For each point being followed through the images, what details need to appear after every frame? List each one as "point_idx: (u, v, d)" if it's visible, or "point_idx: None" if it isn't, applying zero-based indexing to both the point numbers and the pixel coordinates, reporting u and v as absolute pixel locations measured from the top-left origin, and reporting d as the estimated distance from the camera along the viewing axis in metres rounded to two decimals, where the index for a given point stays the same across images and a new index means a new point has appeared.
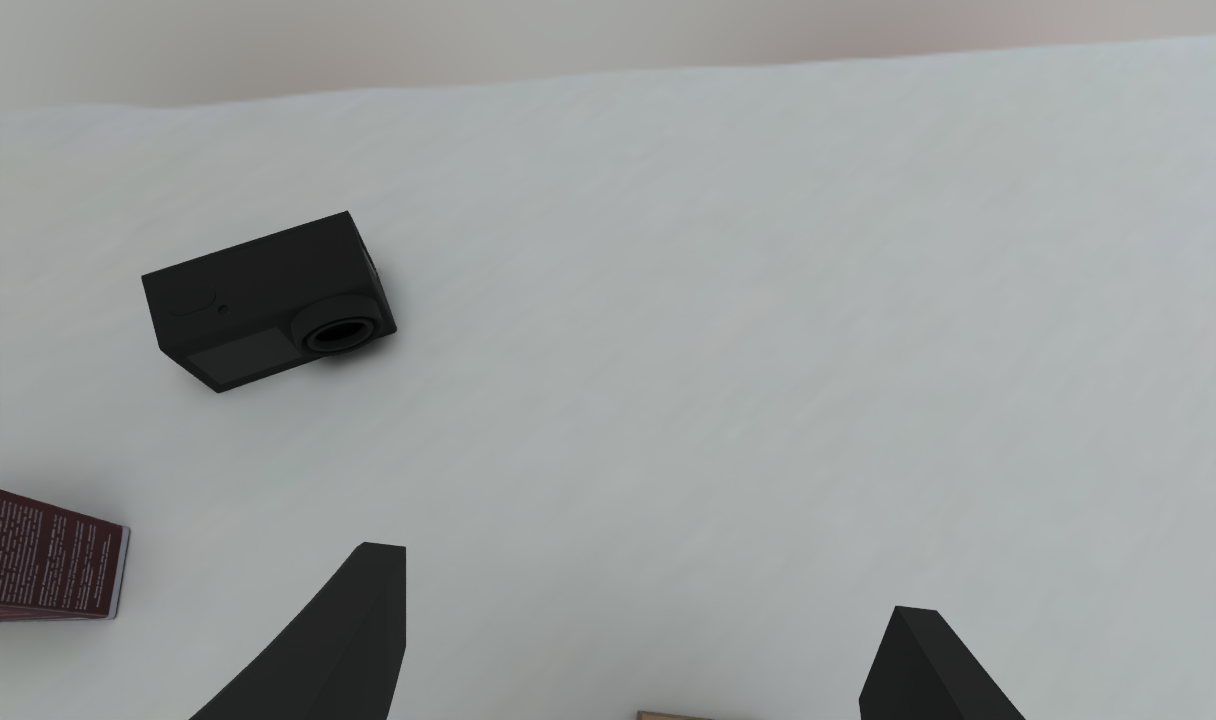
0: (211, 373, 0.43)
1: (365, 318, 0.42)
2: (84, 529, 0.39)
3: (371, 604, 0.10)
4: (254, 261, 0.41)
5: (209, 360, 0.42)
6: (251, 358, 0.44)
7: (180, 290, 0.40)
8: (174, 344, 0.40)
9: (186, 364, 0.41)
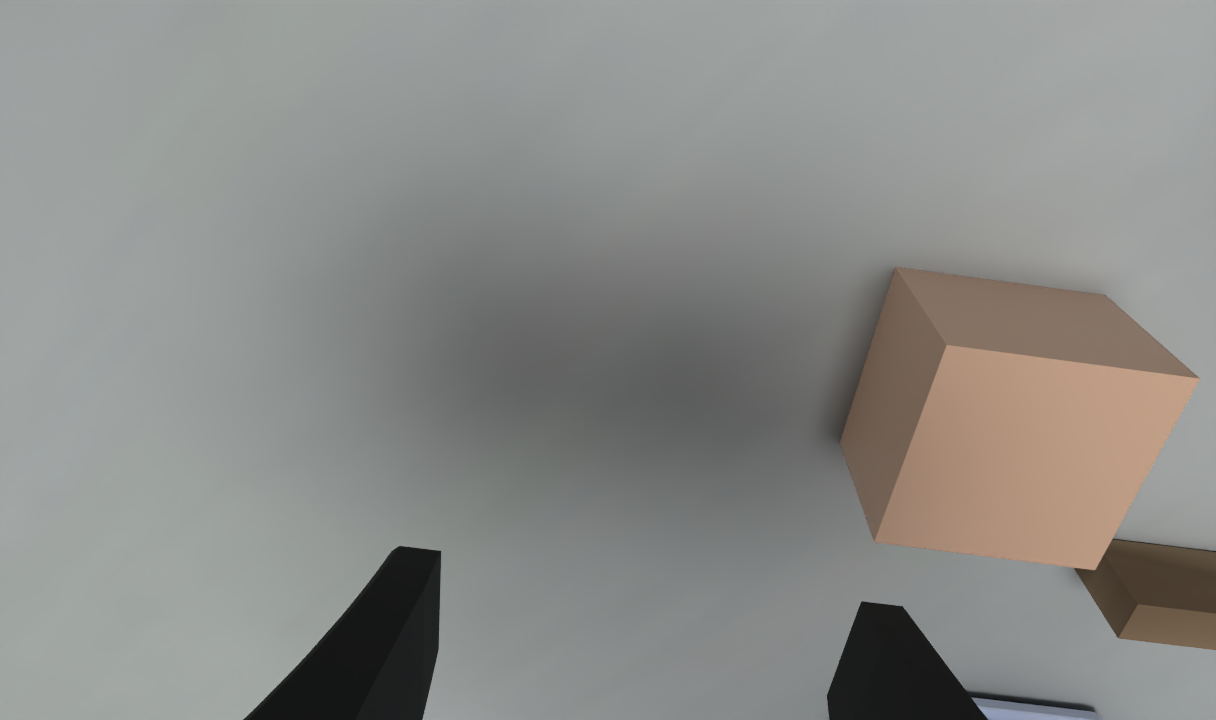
0: None
1: None
2: None
3: (411, 608, 0.10)
4: None
5: None
6: None
7: None
8: None
9: None
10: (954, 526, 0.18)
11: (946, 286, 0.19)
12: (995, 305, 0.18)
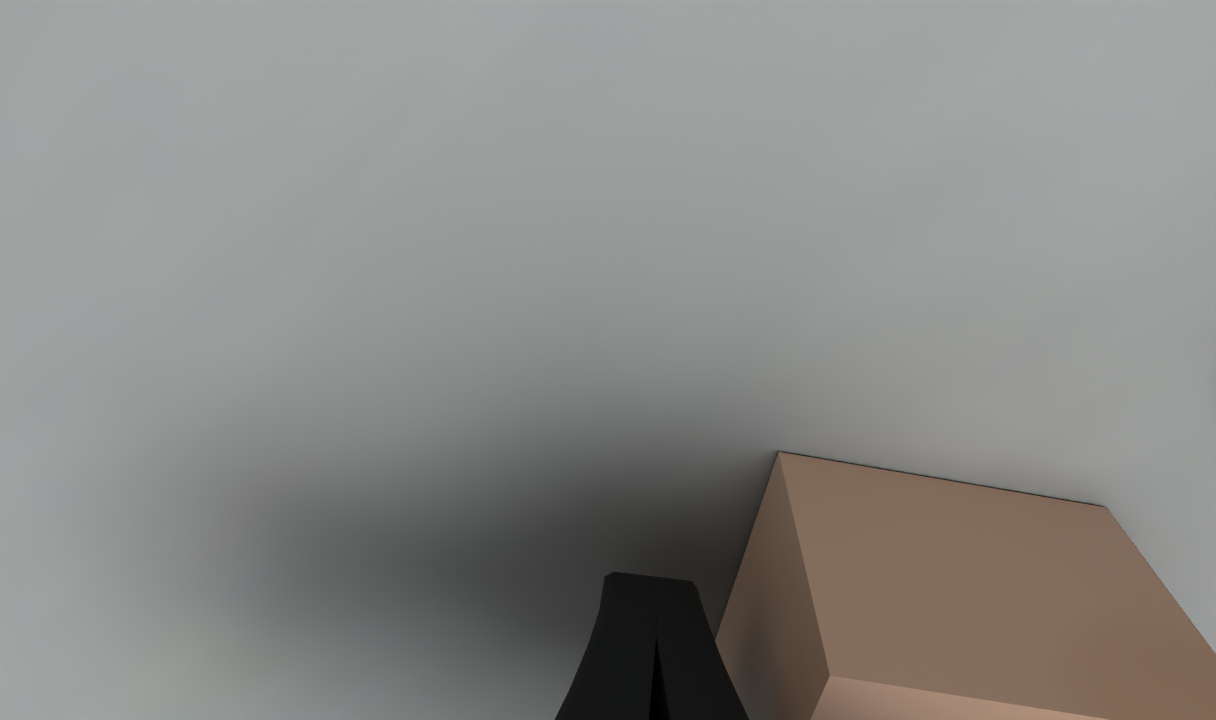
0: None
1: None
2: None
3: (654, 637, 0.10)
4: None
5: None
6: None
7: None
8: None
9: None
10: None
11: (856, 503, 0.11)
12: (932, 550, 0.11)
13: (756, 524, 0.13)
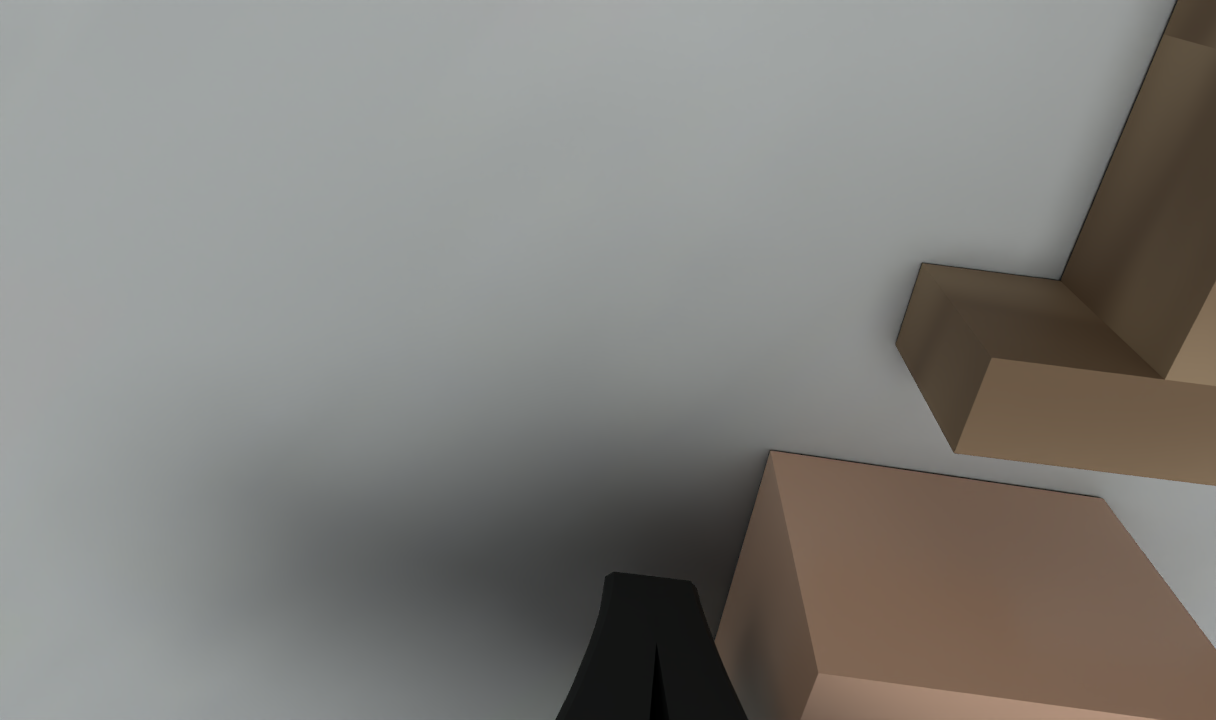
0: None
1: None
2: None
3: (655, 638, 0.10)
4: None
5: None
6: None
7: None
8: None
9: None
10: None
11: (848, 500, 0.11)
12: (925, 545, 0.11)
13: (751, 523, 0.13)
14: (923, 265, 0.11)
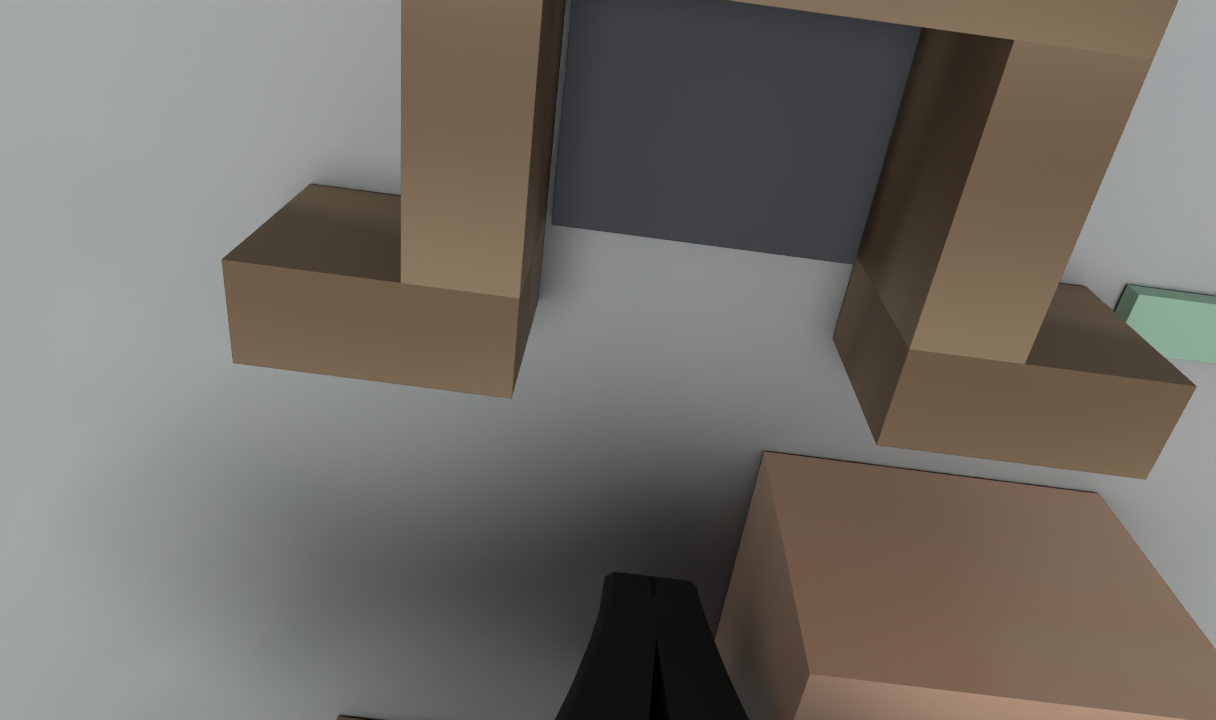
0: None
1: None
2: None
3: (654, 637, 0.10)
4: None
5: None
6: None
7: None
8: None
9: None
10: None
11: (841, 500, 0.11)
12: (919, 544, 0.11)
13: (746, 524, 0.13)
14: (312, 186, 0.11)
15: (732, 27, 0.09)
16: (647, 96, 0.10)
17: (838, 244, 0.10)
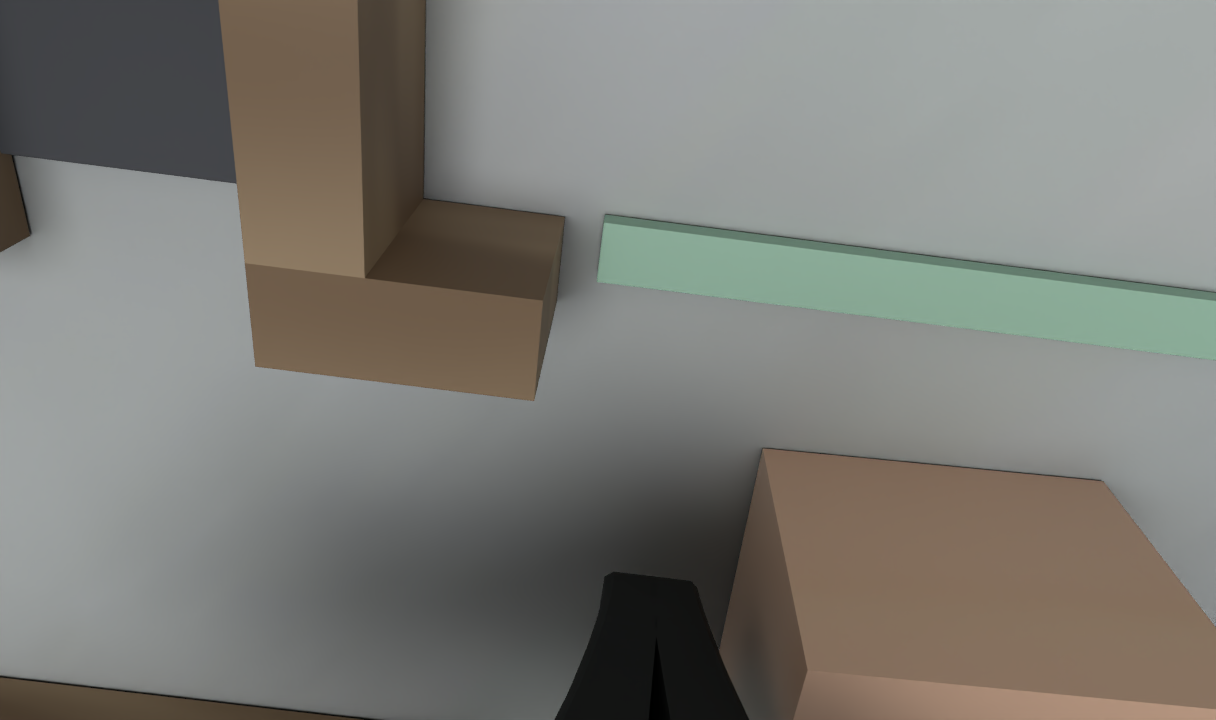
0: None
1: None
2: None
3: (654, 638, 0.10)
4: None
5: None
6: None
7: None
8: None
9: None
10: None
11: (840, 495, 0.11)
12: (918, 537, 0.11)
13: (748, 522, 0.13)
14: None
15: None
16: (51, 16, 0.09)
17: None
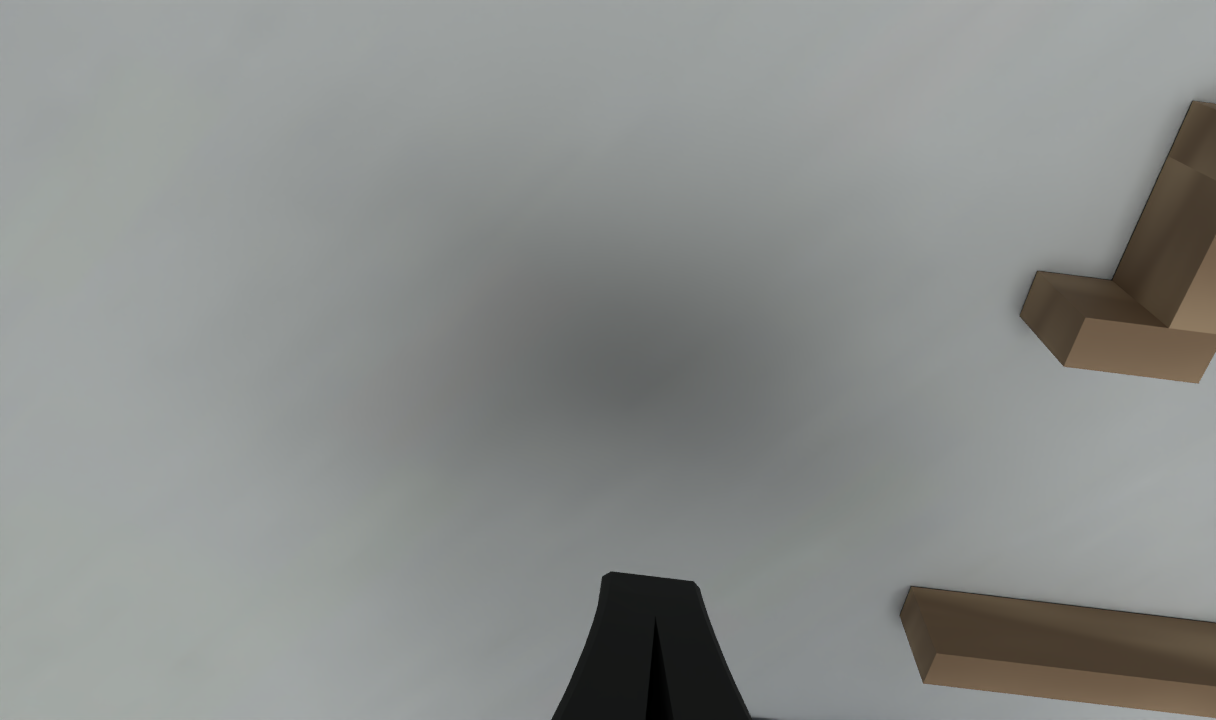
0: None
1: None
2: None
3: (652, 637, 0.10)
4: None
5: None
6: None
7: None
8: None
9: None
10: None
11: None
12: None
13: None
14: (1038, 272, 0.20)
15: None
16: None
17: None
